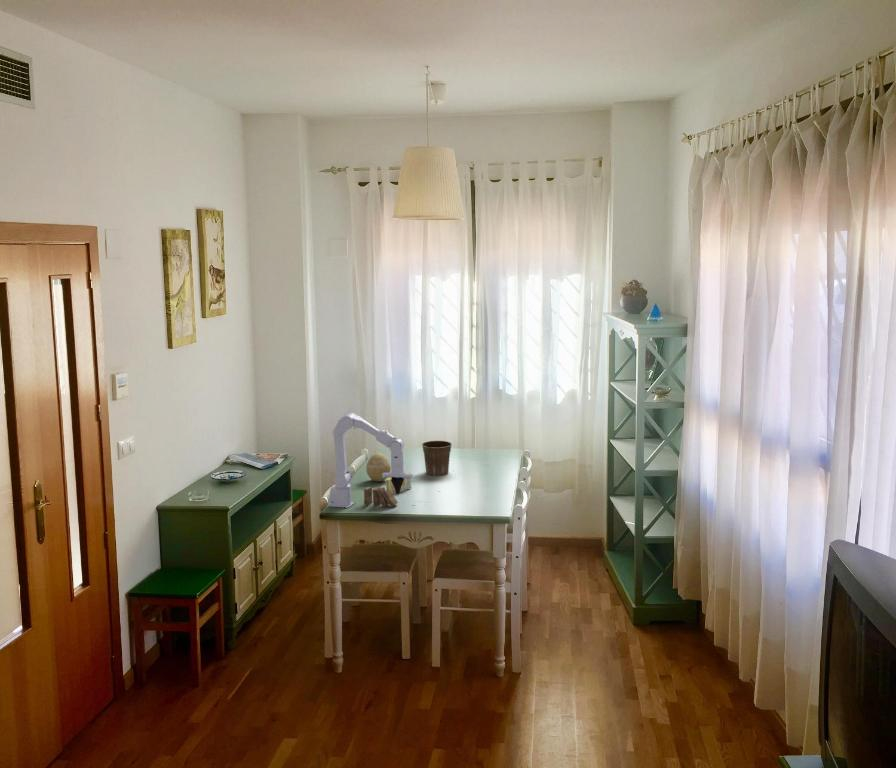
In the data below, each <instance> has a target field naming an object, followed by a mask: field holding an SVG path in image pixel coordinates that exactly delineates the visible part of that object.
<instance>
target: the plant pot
mask: <svg viewBox="0 0 896 768" xmlns="http://www.w3.org/2000/svg"><path fill="white" fill-rule="evenodd" d="M452 446H453V444H452V442H450V441H445V440H430V441H425V442H423V443H421V447H422V451H423V454H424V455H423V456H424V467H425V474H427V475H429V476H433V475H435V477H436V476H438V477H439V476H443V475H447V474H449V471H450V469H449V468H450V458H451V457H450V455H451V451H452Z"/></svg>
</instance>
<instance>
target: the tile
mask: <svg viewBox="0 0 896 768" xmlns="http://www.w3.org/2000/svg"><path fill="white" fill-rule="evenodd" d="M380 488H381V487H379V486H376V487H374V489H373V488H372V505H373V507H374V506H378V505H379V506H380V505H381V502H380V499H379V496H378V493H377V491H378V490H379V489H380ZM379 506H378V507H379Z"/></svg>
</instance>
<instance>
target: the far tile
mask: <svg viewBox="0 0 896 768" xmlns="http://www.w3.org/2000/svg"><path fill="white" fill-rule="evenodd" d="M382 494H383V496H384V497H385V499H386V500H387V502H388V503H389V504H388V505H389V506H390V508H394V507H395V506H397V505H398V503H399V502H398V500H397V499H396V497H395V496H394V495H393V494H392V493H391V491H390V490H389V489H387V488H386V489H385V491H384V492H383V493H382Z"/></svg>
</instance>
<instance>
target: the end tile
mask: <svg viewBox="0 0 896 768" xmlns="http://www.w3.org/2000/svg"><path fill="white" fill-rule="evenodd" d="M363 497H364V498H363V499H364V501H363V503H364V505H366V506H365V507H369V506H371V505H372V504H373V487H372V486H367V487H365V488H364V489H363ZM371 503H372V504H371ZM370 504H371V505H370ZM368 505H369V506H368Z"/></svg>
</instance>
